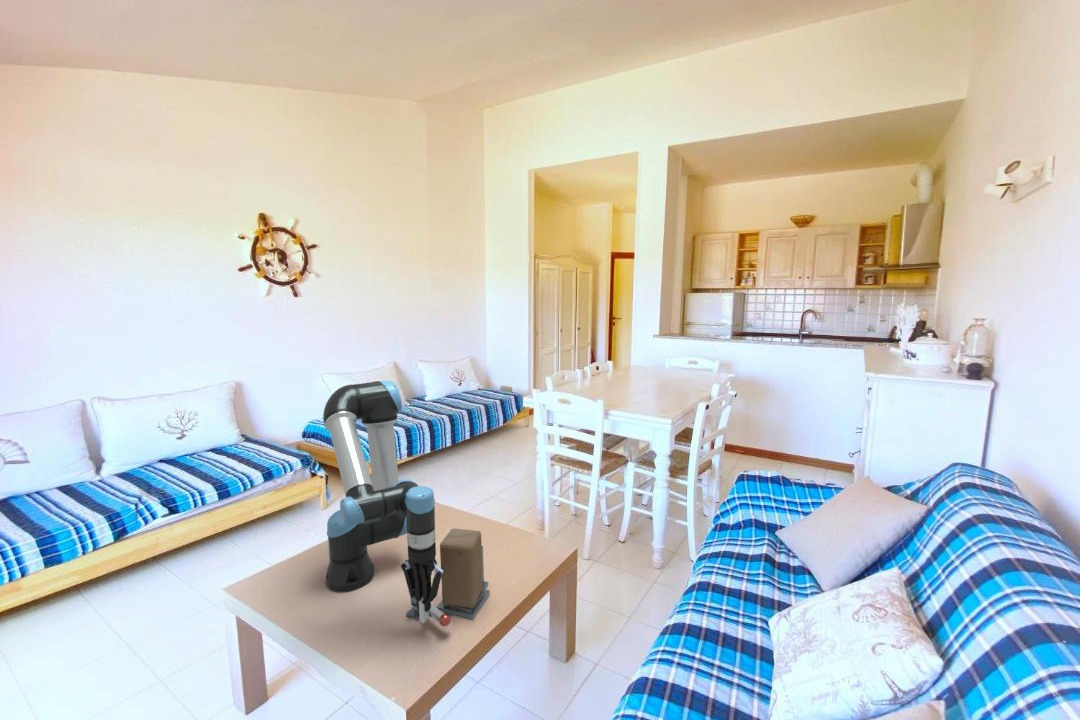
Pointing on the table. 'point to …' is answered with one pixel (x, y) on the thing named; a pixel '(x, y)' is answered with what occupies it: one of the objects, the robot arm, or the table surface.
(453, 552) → the wooden block
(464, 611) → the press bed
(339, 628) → the table surface
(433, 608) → the lever
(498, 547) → the table surface
